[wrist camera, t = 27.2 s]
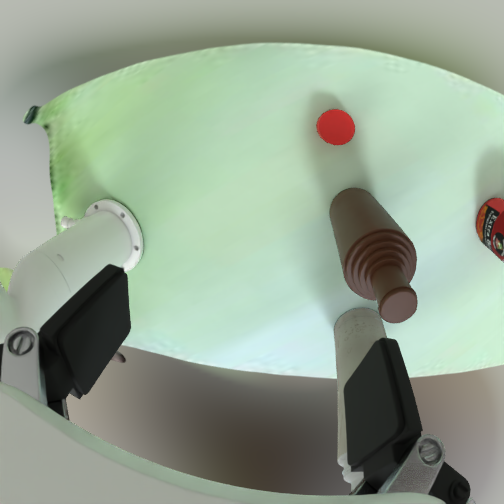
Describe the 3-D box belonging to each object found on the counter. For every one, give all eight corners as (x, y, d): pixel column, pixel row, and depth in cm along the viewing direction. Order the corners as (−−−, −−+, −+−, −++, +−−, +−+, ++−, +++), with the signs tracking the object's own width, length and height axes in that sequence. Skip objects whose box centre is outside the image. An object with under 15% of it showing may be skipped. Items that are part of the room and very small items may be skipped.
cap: (355, 126, 28) (362, 126, 24) (335, 150, 29) (339, 153, 26) (329, 104, 27) (333, 101, 24) (309, 128, 29) (310, 128, 26)
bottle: (322, 227, 34) (335, 333, 17) (338, 180, 31) (379, 249, 14) (367, 242, 34) (411, 350, 16) (385, 197, 31) (458, 278, 13)
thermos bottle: (355, 351, 42) (364, 509, 17) (323, 330, 41) (317, 507, 16) (391, 323, 38) (426, 490, 14) (360, 298, 37) (388, 490, 13)
